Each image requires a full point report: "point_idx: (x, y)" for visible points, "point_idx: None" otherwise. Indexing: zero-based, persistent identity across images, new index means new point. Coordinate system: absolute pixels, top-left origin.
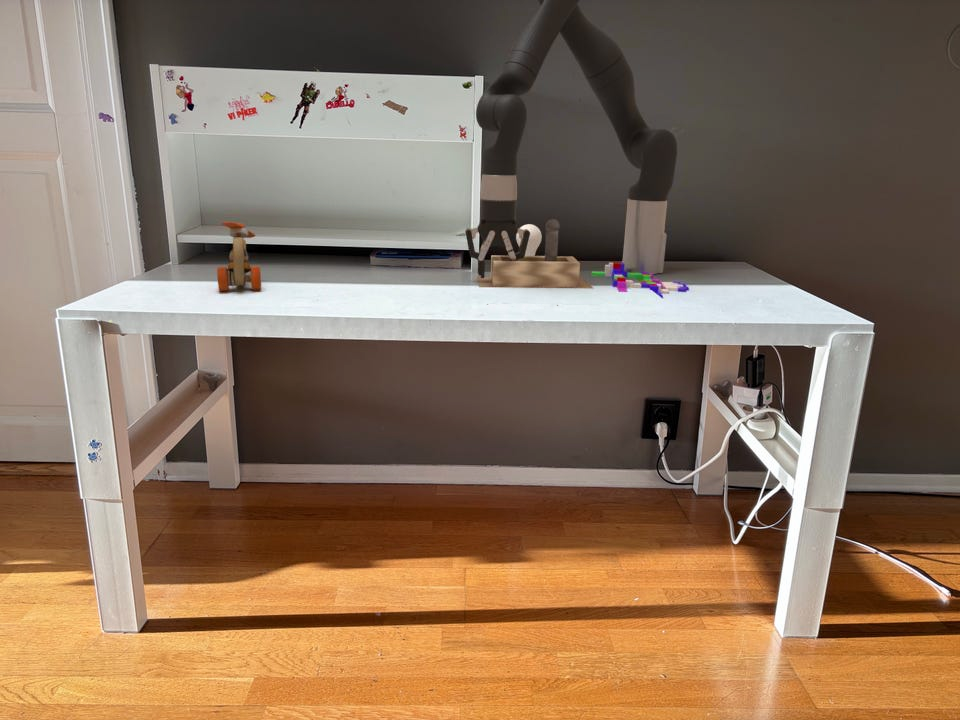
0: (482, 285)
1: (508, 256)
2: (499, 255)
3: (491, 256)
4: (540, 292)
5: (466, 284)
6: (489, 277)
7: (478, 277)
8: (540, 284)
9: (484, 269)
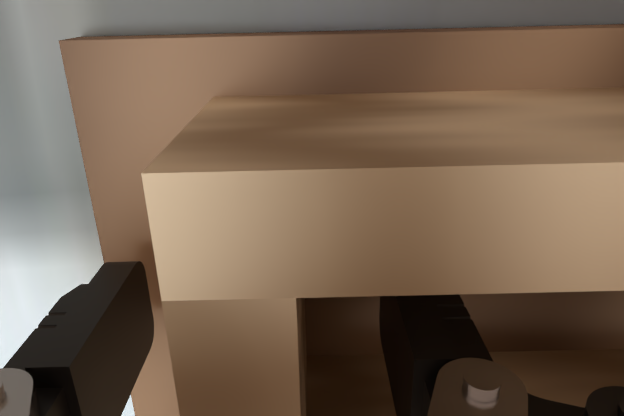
0: (160, 404)
1: (439, 252)
2: (290, 170)
3: (152, 220)
4: None
5: (11, 190)
6: (199, 73)
7: (82, 84)
8: None
9: (127, 398)
